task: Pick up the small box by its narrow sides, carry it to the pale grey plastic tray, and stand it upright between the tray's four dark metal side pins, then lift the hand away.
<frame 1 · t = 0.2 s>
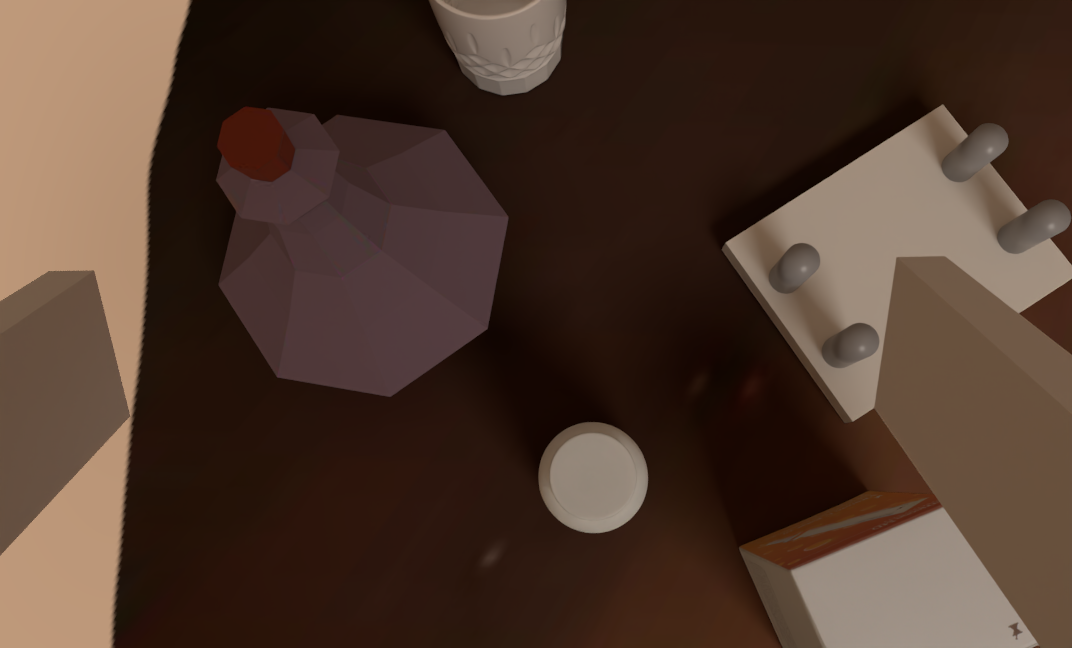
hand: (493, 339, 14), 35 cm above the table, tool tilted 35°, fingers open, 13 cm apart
supplement bottle: (592, 477, 48), on the table
flask: (382, 270, 51), on the table
pin tray: (889, 264, 49), on the table
small box: (825, 571, 46), on the table
white cup: (509, 47, 53), on the table
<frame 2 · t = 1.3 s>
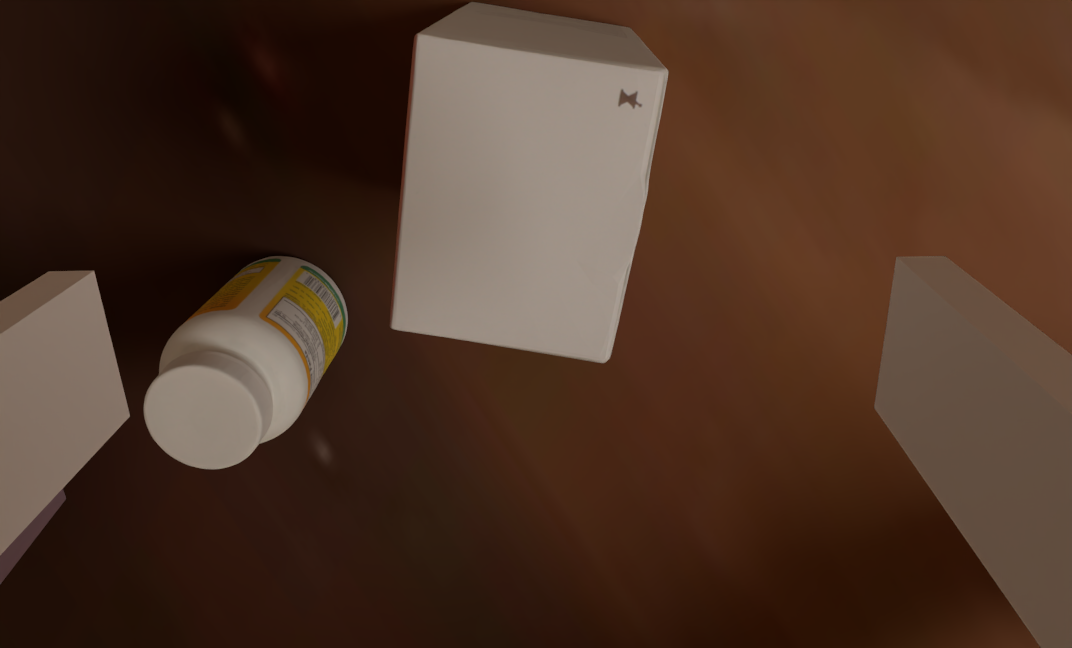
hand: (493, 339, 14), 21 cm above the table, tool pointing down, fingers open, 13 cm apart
supplement bottle: (289, 308, 37), on the table
small box: (535, 118, 34), on the table
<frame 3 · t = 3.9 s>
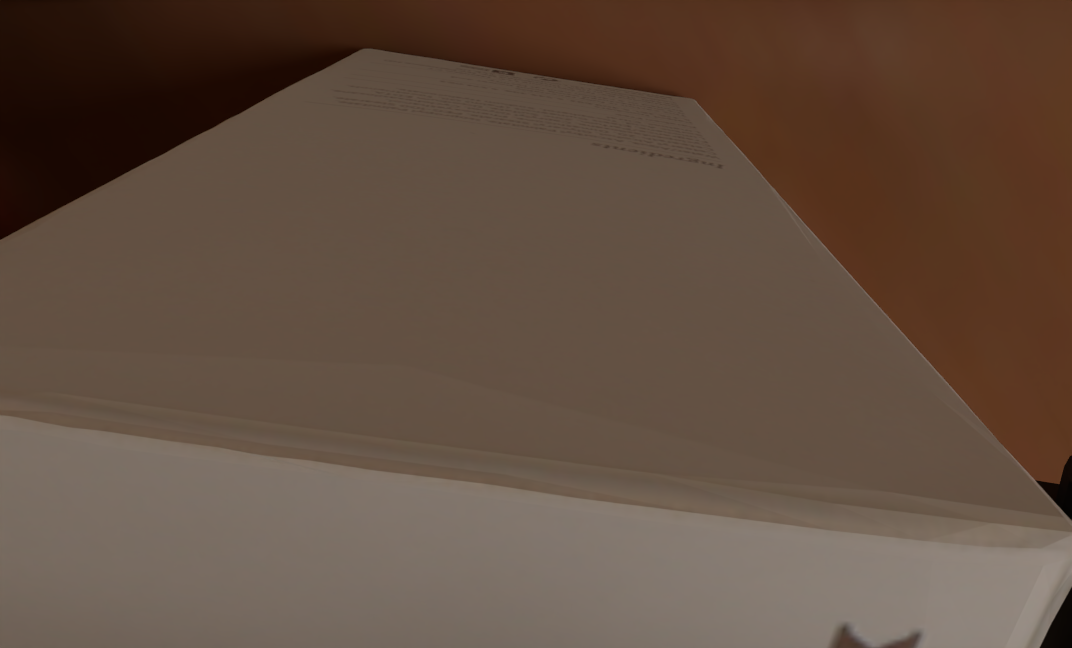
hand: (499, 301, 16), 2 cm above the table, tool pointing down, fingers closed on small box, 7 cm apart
small box: (503, 269, 17), on the table, touching gripper
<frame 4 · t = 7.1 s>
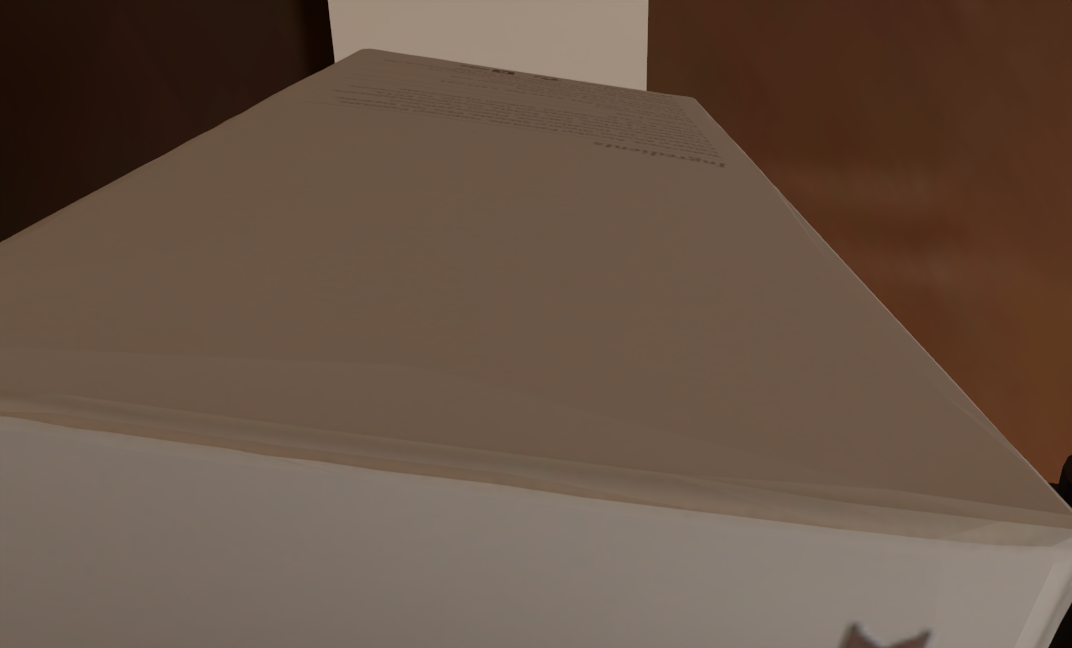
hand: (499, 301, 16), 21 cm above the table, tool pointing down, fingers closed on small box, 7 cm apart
pin tray: (493, 72, 34), on the table
small box: (503, 269, 17), point 19 cm above the table, touching gripper
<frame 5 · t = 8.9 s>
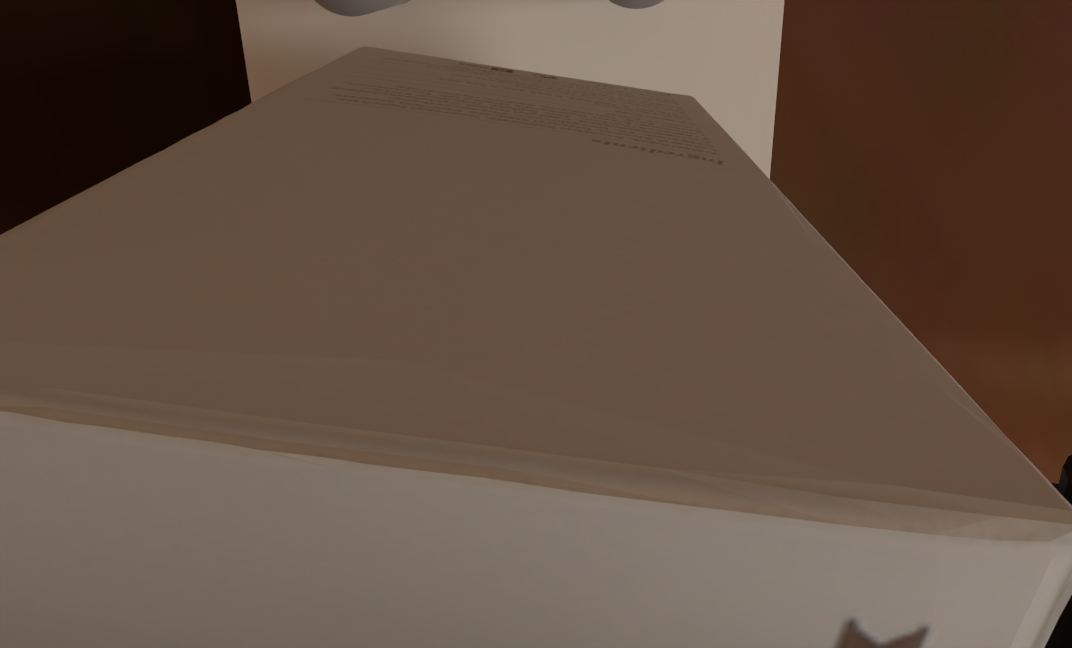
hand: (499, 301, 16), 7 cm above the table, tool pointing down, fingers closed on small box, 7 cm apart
pin tray: (518, 206, 22), on the table
small box: (502, 267, 17), point 5 cm above the table, touching gripper
when the fingers open (4 cm above the table, at t = 10.2 s): small box drops 1 cm, resting on pin tray.
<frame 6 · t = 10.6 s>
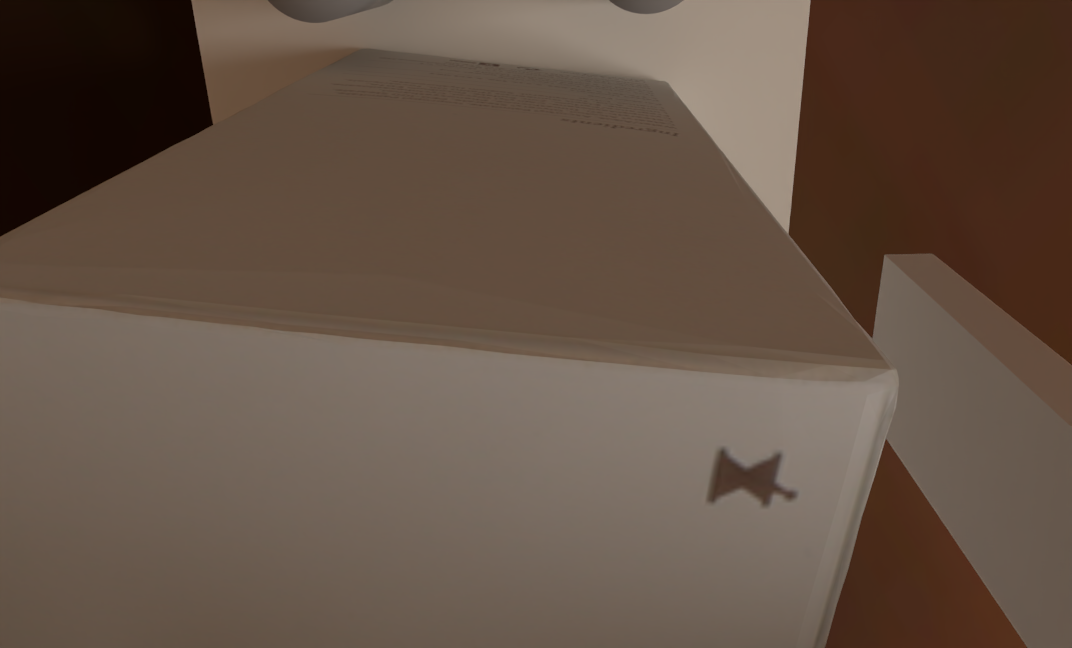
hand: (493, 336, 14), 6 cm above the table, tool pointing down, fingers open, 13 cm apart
pin tray: (512, 229, 20), on the table
small box: (499, 248, 19), point 1 cm above the table, touching pin tray
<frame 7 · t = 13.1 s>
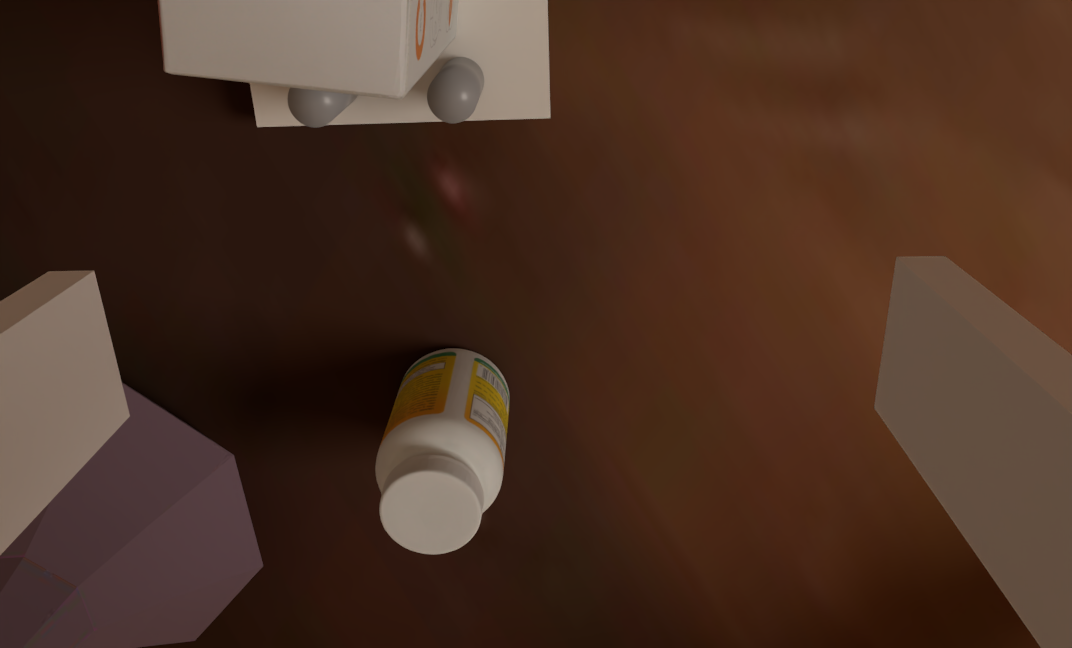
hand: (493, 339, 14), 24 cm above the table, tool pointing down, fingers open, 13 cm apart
supplement bottle: (455, 391, 42), on the table
flask: (131, 467, 44), on the table
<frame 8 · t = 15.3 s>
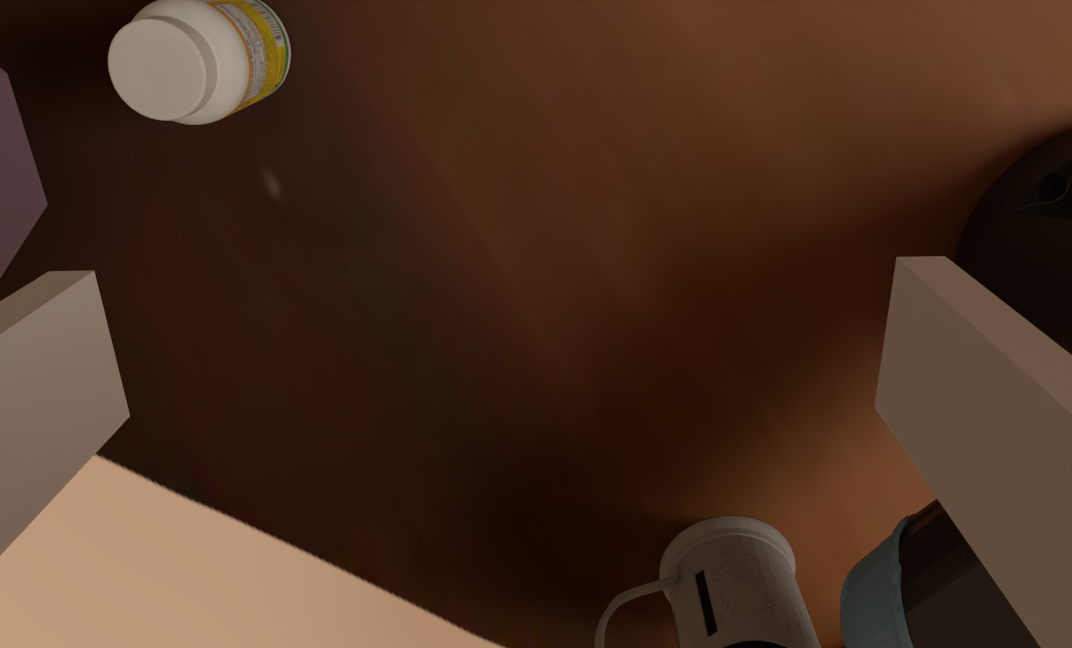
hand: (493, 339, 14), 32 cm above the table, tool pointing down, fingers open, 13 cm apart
supplement bottle: (241, 46, 43), on the table
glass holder: (688, 555, 55), on the table
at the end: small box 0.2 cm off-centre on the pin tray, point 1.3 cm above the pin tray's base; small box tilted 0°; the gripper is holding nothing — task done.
